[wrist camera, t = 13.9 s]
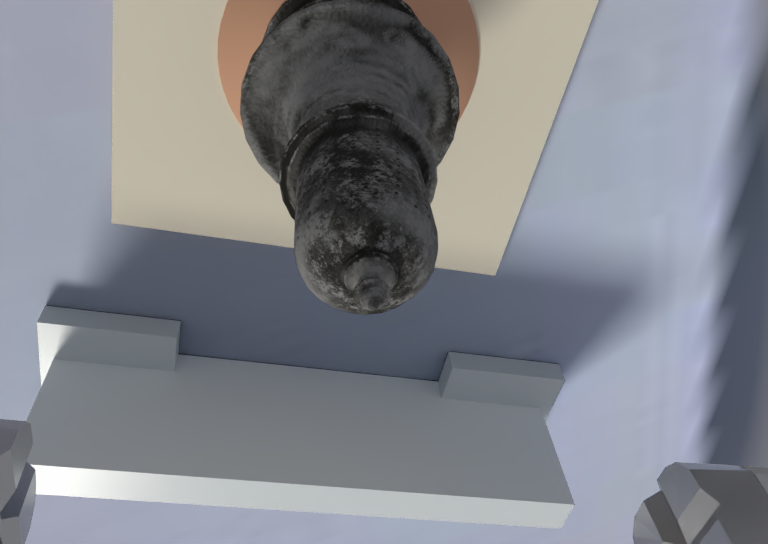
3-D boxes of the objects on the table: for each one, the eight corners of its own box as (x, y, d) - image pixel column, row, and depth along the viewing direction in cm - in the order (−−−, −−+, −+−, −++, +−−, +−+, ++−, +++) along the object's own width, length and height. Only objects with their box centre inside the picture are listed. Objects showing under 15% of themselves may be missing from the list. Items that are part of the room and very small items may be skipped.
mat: (115, 214, 25) (110, 224, 24) (120, -277, 17) (114, -279, 17) (492, 266, 28) (495, 277, 27) (641, -138, 20) (651, -136, 19)
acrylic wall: (50, 399, 30) (-1, 523, 25) (45, 305, 27) (-14, 424, 22) (521, 441, 34) (556, 555, 29) (558, 364, 31) (604, 475, 26)
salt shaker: (448, -32, 21) (573, 151, 11) (433, 154, 24) (516, 422, 14) (241, -36, 20) (176, 151, 10) (255, 154, 23) (215, 433, 14)
